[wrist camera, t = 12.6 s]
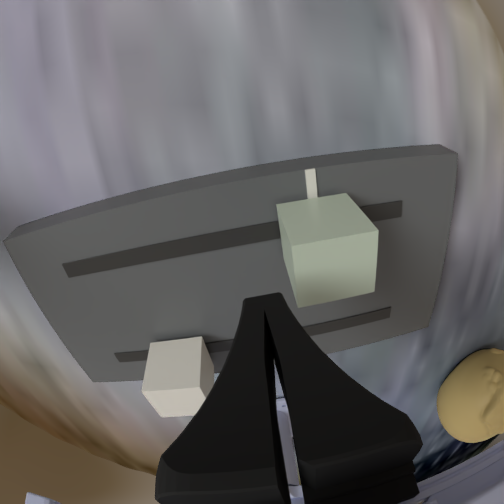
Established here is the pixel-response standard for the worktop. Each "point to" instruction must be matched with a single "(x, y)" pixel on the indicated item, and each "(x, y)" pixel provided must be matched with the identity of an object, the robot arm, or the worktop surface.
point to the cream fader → (178, 376)
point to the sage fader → (328, 248)
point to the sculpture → (474, 397)
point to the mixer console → (234, 257)
